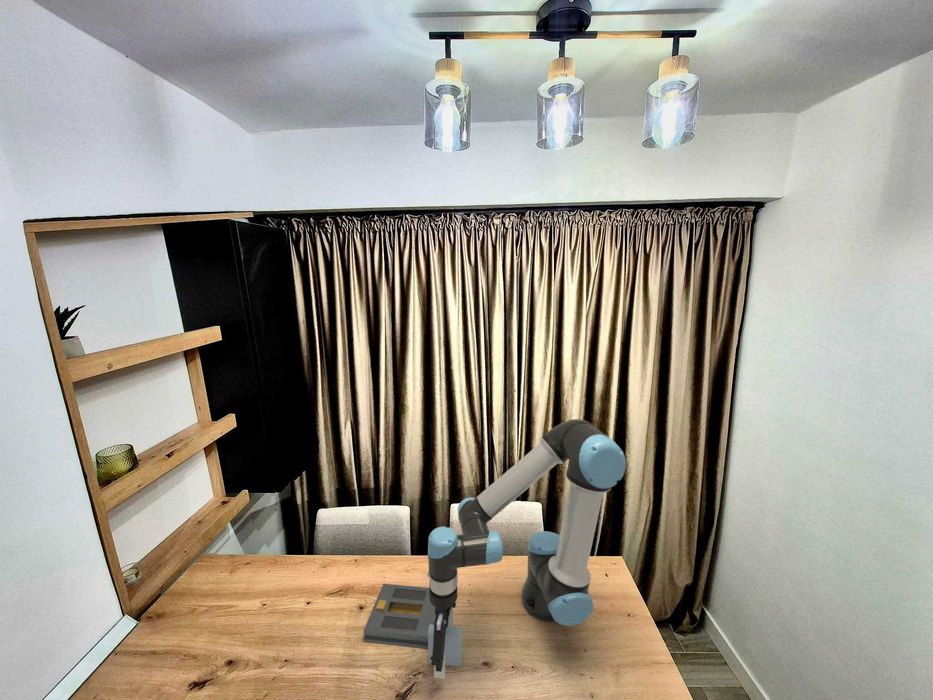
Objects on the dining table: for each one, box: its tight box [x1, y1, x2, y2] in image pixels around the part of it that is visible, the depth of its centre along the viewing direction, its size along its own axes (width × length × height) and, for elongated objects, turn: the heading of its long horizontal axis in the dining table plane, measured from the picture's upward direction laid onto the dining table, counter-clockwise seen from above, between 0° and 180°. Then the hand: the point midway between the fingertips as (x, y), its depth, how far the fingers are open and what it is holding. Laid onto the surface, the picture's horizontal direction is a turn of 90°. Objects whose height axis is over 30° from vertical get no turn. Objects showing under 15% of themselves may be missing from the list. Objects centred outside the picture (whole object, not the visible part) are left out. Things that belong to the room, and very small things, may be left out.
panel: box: [427, 624, 463, 667], centre depth 101 cm, size 9×2×10 cm, turn 83°
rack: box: [363, 583, 436, 650], centre depth 115 cm, size 20×18×4 cm
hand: (444, 650), depth 102 cm, fingers open, 13 cm apart
